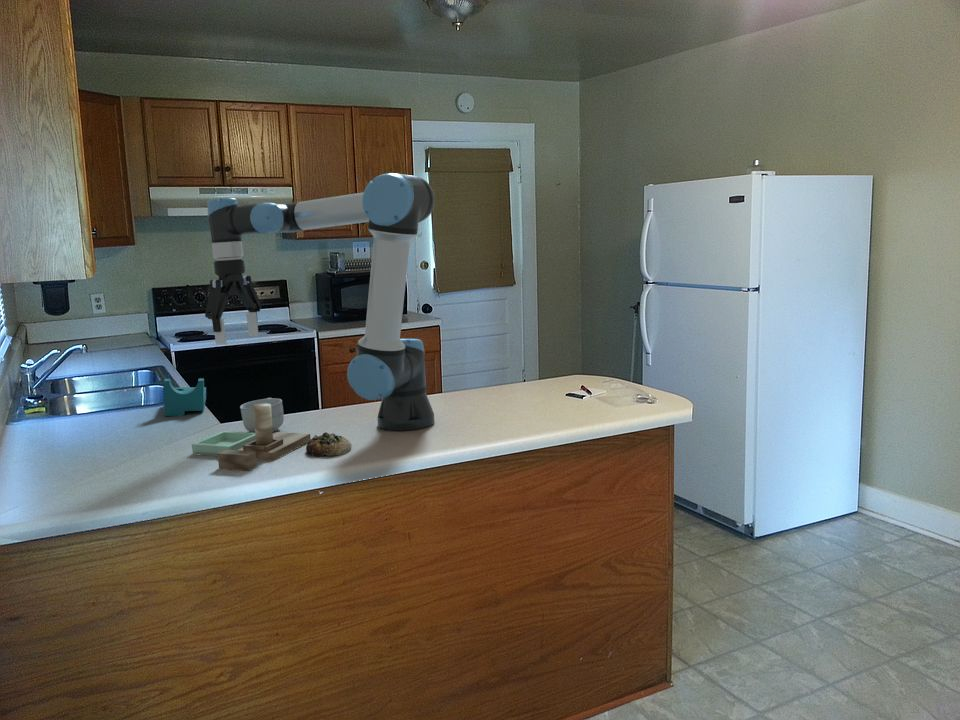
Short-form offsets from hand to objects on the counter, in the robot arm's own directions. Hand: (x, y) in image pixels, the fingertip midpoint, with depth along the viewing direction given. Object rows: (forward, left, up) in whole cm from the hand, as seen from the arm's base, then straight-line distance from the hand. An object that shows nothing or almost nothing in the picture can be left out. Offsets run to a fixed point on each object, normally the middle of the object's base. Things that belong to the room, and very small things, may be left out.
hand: (238, 340), depth 202 cm
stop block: (-19, +29, -24) cm, 42 cm away
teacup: (-6, 0, -25) cm, 25 cm away
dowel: (-19, +19, -22) cm, 35 cm away
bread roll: (-33, +12, -25) cm, 43 cm away
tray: (-6, +17, -24) cm, 30 cm away
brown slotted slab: (-19, +15, -25) cm, 35 cm away
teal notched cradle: (+35, -17, -25) cm, 46 cm away
